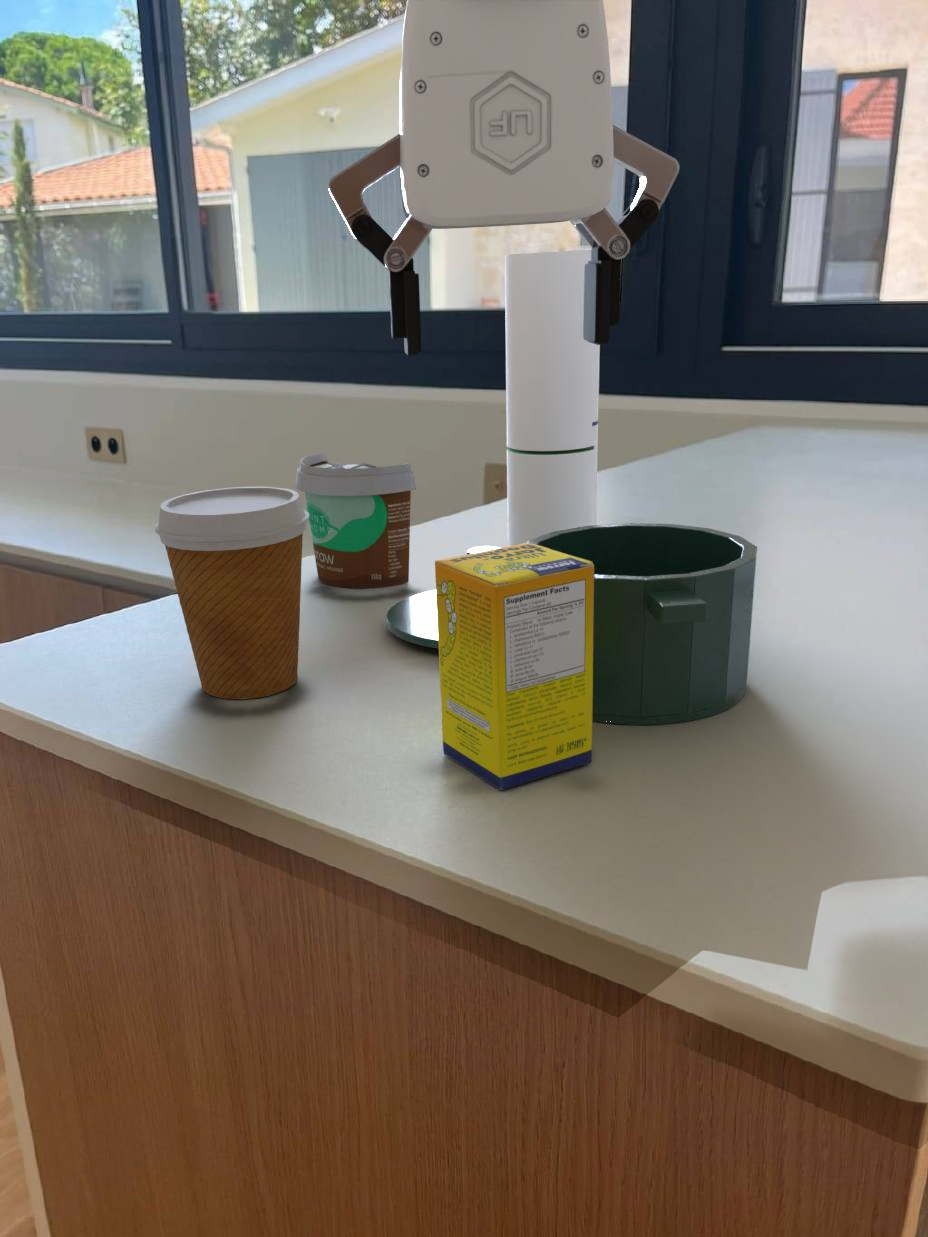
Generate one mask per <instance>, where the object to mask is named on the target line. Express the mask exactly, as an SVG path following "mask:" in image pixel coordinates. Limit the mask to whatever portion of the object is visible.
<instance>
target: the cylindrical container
mask: <svg viewBox="0 0 928 1237" xmlns="http://www.w3.org/2000/svg"><path fill="white" fill-rule="evenodd" d="M588 261H591V249H580V250H578V249H577V250H562V251H546V252H545V251H544V252H528V253H527V252H526V253H512V254H511V253H510V254H504V307H505V308H504V312H505V313H504V314H505V316H504V318H505V319H504V320H505V322H504V323H505V324H504V325H505V326H504V327H505V398H506V399H505V403H506V404H505V405H506V406H505V408H506V412H505V413H506V414H505V415H506V417H505V418H506V422H505V423H506V498H507V500H506V502H507V504H506V506H507V507H506V508H507V510H506V511H507V547H508V546H513V545H519V544H523V543H527V542H528V541H529V540H532V539H535V538H537V537H540V536H543V535H546V534H548V533H551V532H555V531H560V530H566V529H572V528H578V527H583V526H592V525H597V505H598V504H597V501H598V499H597V498H598V458H599V456H598V453H599V452H598V450H599V449H598V448H599V443H598V442H599V422H598V421H599V404H600V401H599V399H600V354H601V353H600V352H601V345H596V344H593V343H589V342H587V340H584V338H583V318H584V267H585V264H588Z"/></svg>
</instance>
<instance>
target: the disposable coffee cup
mask: <svg viewBox="0 0 928 1237" xmlns="http://www.w3.org/2000/svg"><path fill="white" fill-rule="evenodd" d="M158 514H159V515H158V516H159V517H158V522H157V523H155V525H154V531H155V533H156V535H158V536H159V539H160V542H161V543H162V544H163V545H164V547H165V551H166V554H167V558H168V563H169V566H170V570H171V574H172V578H173V580H174V586H175V588H176V593H177V597H178V601H179V604H180V608H181V612H182V615H183V620H184V623H185V626H186V627H185V628H186V632H187V635H188V640H189V642H190V646H191V650H192V654H193V658H194V661H195V665H196V669H197V673H198V677H199V680H200V686H201V689H202V691H203V692H204V693H206V694H208V695H209V696H212V697H215V698H220V699H229V700H248V699H249V700H250V699H255V698H264V697H269V696H271V695H275V694H278V693H281V692H284V691H286V690H289V688H291V687H293V686H294V685H295V684H296V683H297V682H298V676H299V673H298V671H299V647H300V645H299V644H300V625H301V624H300V623H301V621H300V620H301V619H300V618H301V593H302V591H301V590H302V586H301V585H302V563H303V562H302V561H303V560H302V559H303V537H304V532H305V531H306V528H307V527H306V526H307V523H308V522H309V513H308V512H307V509H304V507H303V502H302V499H301V496H300V494H299V493H298V491H296V490H293V489H290V488H286V487H285V488H284V487H275V486H233V487H224V488H215V489H213V488H212V489H206V490H200V491H194V492H190V493H189V492H188V493H184V494H181V495H178V496H174V497H171V498H168V499H166V500H164V501H162V502H161V504H160V505H159V513H158Z"/></svg>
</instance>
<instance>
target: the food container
mask: <svg viewBox="0 0 928 1237" xmlns="http://www.w3.org/2000/svg"><path fill="white" fill-rule="evenodd" d="M328 458H329V457H328V452H327V450H326V451H321V452H317V453H313V454H309V455H307V456H304V457H303V458H300V461H299V465H300V466H298V467H297V470H296V480H295V489H297V490H298V491H300V492H302V493H303V494H304V500H305V505H306V511H307V512H308V513H309V520H308V524H309V530H310V537H311V541H312V542H311V543H312V548H313V554H314V561H315V567H316V573H317V578H318V581H319V582H321V583H323V584H324V585H328V586H331V587H335V588H336V587H337V588H342V589H343V588H345V589H374V588H375V589H376V588H384V587H391V586H397V585H402V584H406V583H409V582H410V580H409V579H410V542H411V541H410V539H411V534H410V533H411V496H412V494H411V493H412V491H413V490H417V486H416V480H415V475H414V474H415V473H414V471H412V463H411V462H407V463H402V464H395V465H388V466H387V465H386V466H375V465H373V464H369V463H366V462H362V463H361V462H358V463H349V464H347V463H346V464H345V463H344V464H343V463H336V462H331V461H330V462H329V460H328Z"/></svg>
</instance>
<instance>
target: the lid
mask: <svg viewBox="0 0 928 1237" xmlns="http://www.w3.org/2000/svg"><path fill="white" fill-rule="evenodd" d="M498 548H501V547H499V546H493V545H480V546H474V547H471V548H469V549H467V550H466V555H468V554H473V553H478V552H483V551H488V550H493V549H498ZM385 621H386V627H387V629H388V630H389V632H390V633H391V634H392V635H394V636H395V637H397V638H399V639H401V640H403V641H406V642H408V643H411V644H413V645H414V644H415V645H418V646H423V647H427V648H431V649H432V648H433V649H438V650H439V644H438V622H437V598H436V589H432V590H428V591H424V592H421V593H416V594H414V595H411V596H408V597H406V598H404V599H402V600H399V601H398V602H396V603H394V604H393V605H392V606H391V607H390V608H389V609H388V610H387V612H386V615H385Z"/></svg>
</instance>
